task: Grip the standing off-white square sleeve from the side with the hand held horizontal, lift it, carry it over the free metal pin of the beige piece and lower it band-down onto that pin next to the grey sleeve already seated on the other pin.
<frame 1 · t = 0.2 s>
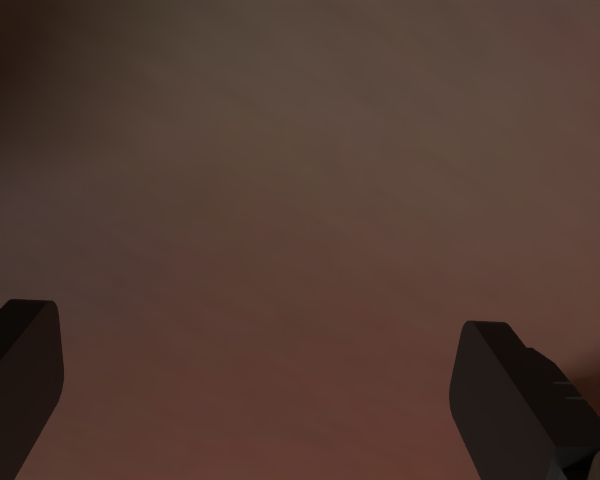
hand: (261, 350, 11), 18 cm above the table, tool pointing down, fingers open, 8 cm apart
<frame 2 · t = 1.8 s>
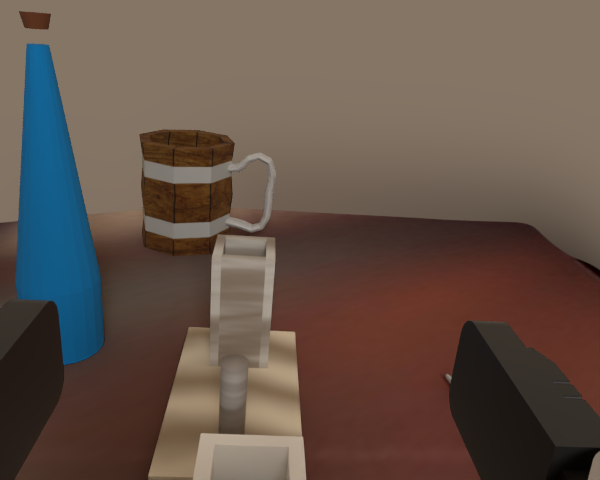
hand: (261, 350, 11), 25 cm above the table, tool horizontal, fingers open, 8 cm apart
mug: (206, 241, 82), on the table
beige piece: (235, 400, 48), on the table
bottle: (65, 345, 54), on the table
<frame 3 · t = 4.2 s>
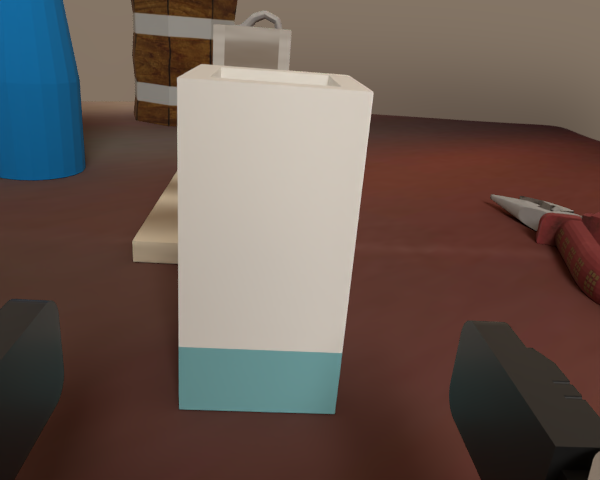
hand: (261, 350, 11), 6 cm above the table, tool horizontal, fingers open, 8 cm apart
mug: (206, 121, 73), on the table
beige piece: (243, 209, 39), on the table
sleeve: (259, 366, 22), on the table
bottle: (38, 170, 45), on the table
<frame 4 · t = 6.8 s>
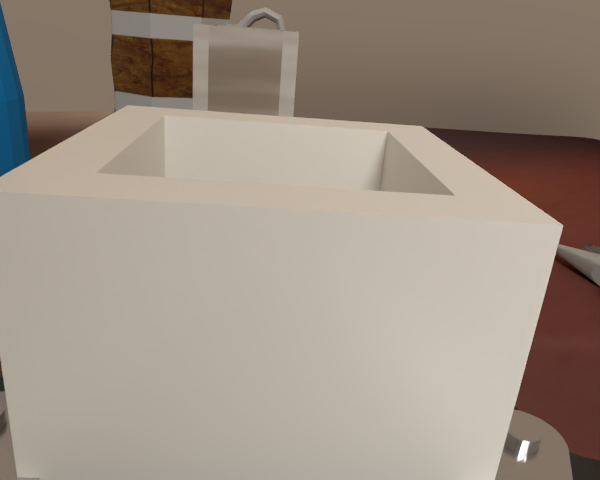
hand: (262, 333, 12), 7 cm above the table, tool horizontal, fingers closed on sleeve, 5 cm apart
mug: (196, 136, 63), on the table
beige piece: (234, 272, 29), on the table
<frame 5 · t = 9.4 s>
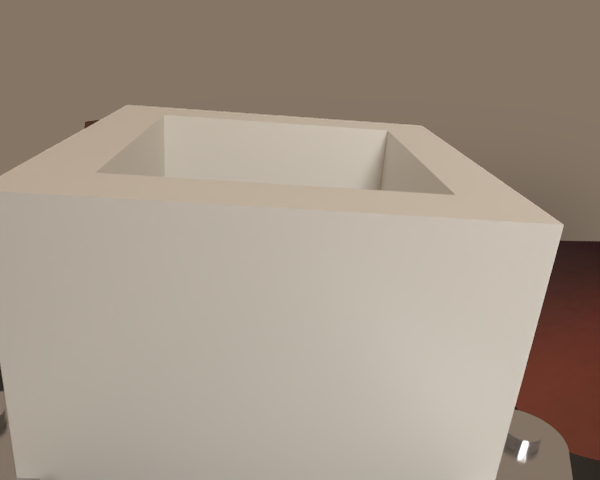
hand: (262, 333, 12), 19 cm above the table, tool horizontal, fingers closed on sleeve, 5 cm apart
when the fingers open (9 cm above the table, at t = 12.3 s): sleeve drops 1 cm, resting on beige piece.
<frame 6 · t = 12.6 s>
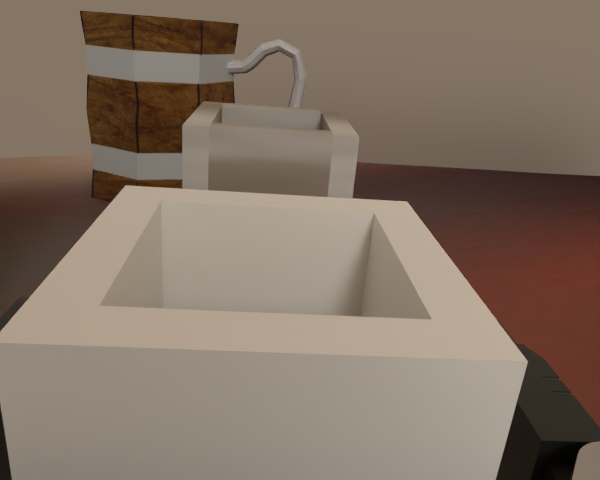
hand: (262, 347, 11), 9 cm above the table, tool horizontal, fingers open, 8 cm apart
mug: (194, 192, 52), on the table
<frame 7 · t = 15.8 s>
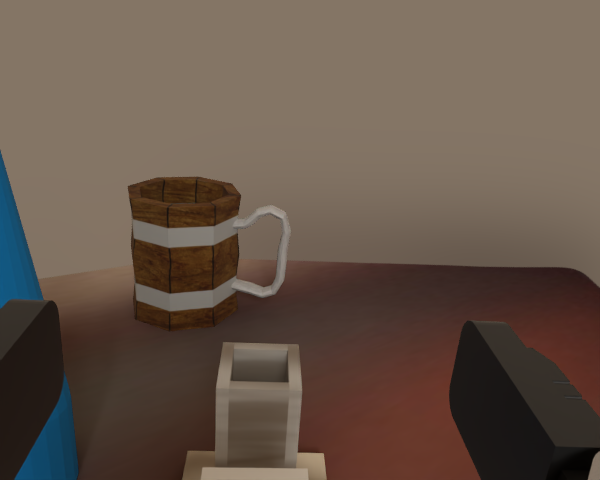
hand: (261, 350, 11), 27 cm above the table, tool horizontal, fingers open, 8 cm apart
mug: (209, 308, 70), on the table
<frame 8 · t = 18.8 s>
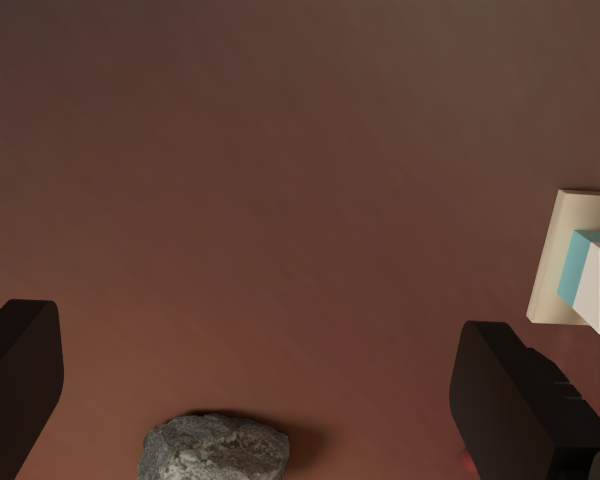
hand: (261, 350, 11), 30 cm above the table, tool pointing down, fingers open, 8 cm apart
rock: (213, 442, 50), on the table
sleeve: (597, 263, 43), point 1 cm above the table, touching beige piece
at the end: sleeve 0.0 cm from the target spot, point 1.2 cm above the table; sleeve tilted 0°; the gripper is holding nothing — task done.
